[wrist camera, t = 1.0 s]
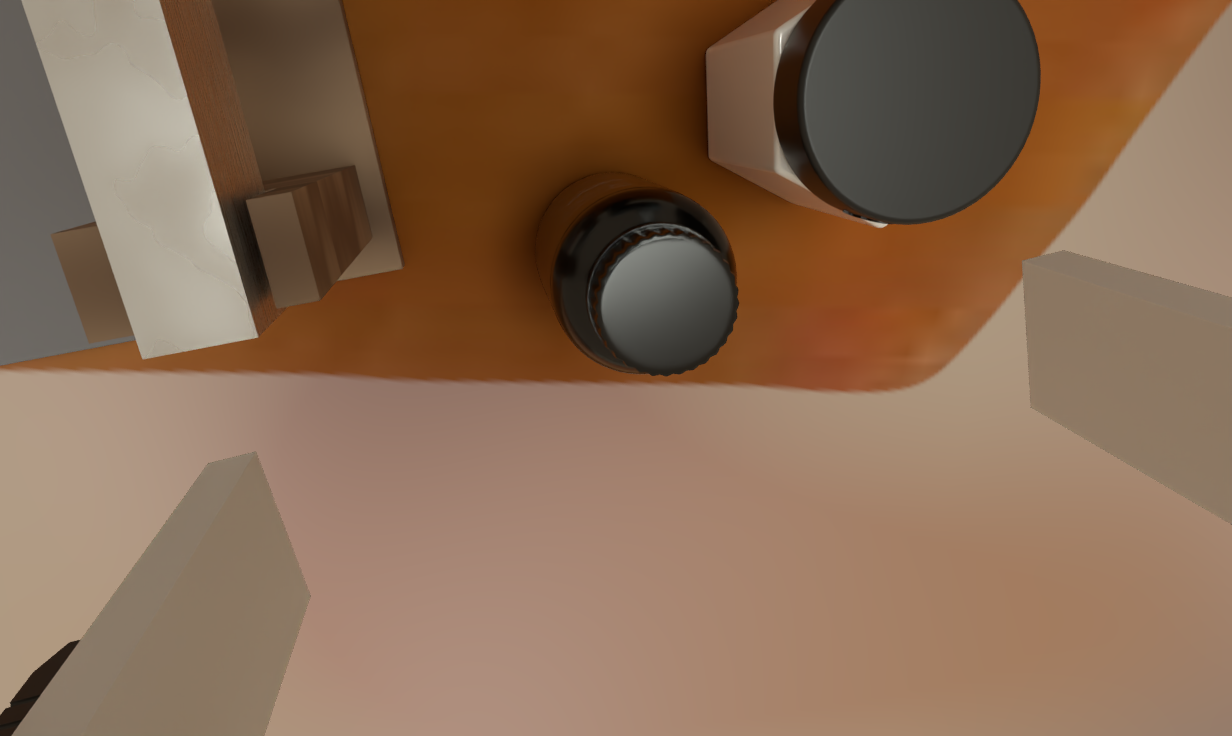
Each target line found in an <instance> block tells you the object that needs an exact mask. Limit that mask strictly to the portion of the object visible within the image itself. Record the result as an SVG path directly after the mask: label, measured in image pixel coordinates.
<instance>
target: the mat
mask: <svg viewBox="0 0 1232 736" xmlns="http://www.w3.org/2000/svg"><path fill="white" fill-rule="evenodd" d="M95 221H96V220H95V217H94V214H93V211H92V208H91V205H90V202H89V199H88V196H87V193H86V191H85V188H84V185H83V182H82V179H81V176H80V173H79V170H78V167H77V164H76V161H75V158H74V155H73V152H72V149H71V146H70V143H69V140H68V137H67V134H66V131H65V128H64V125H63V122H62V119H61V116H60V113H59V111H58V108H57V105H56V102H55V99H54V96H53V93H52V90H51V87H50V84H49V81H48V78H47V75H46V72H45V69H44V66H43V63H42V60H41V57H40V54H39V51H38V48H37V45H36V42H35V39H34V36H33V33H32V31H31V28H30V25H29V22H28V19H27V16H26V13H25V10H24V7H23V4H22V1H21V0H0V365H6V364H11V363H16V362H22V361H27V360H32V359H38V358H43V357H48V356H54V355H59V354H64V353H69V352H75V351H80V350H85V349H91V348H96V347H101V346H107V345H112V344H117V343H123V342H128V341H133V340H136V339H135V336H134V335H133V336H128V337H122V338H117V339H112V340H106V341H101V342H96V343H90V344H89V342H88V339H87V337H86V334H85V331H84V328H83V325H82V322H81V320H80V317H79V314H78V311H77V308H76V306H75V303H74V300H73V297H72V294H71V291H70V289H69V286H68V283H67V280H66V277H65V275H64V272H63V269H62V266H61V263H60V260H59V258H58V255H57V252H56V249H55V246H54V243H53V241H52V238H51V235H50V234H53V233H56V232H60V231H63V230H67V229H71V228H74V227H78V226H81V225H85V224H88V223H92V222H95Z"/></svg>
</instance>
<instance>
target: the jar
mask: <svg viewBox="0 0 1232 736" xmlns="http://www.w3.org/2000/svg"><path fill="white" fill-rule="evenodd" d="M1040 75H1041V70H1040V59H1039V52H1038V47H1037V43H1036V39H1035V35H1034V32H1033V29H1032V27H1031V24H1030V22H1029V19H1028V17H1027V15H1026V13H1025V11H1024V10H1023V8H1022V6H1021V5H1020V3H1019V2H1018V0H777V1H776V2H774V3H773V4H771V5H770V6H768V7H767V8H766V9H764V10H763V11H761V12H760V13H758V14H757V15H755V16H754V17H753V18H751V19H750V20H748V21H747V22H745V23H744V24H742V25H741V26H740V27H738V28H737V29H735V30H734V31H732V32H731V33H729V34H728V35H726V36H725V37H724V38H722V39H721V40H719V41H718V42H716V43H715V44H713V45H712V46H711V47H709V48H708V49H707V51H706V80H707V118H708V155H709V158H710V160H711V161H713V162H715V163H717V164H719V165H721V166H722V167H724V168H726V169H728V170H730V171H732V172H734V173H736V174H738V175H739V176H741V177H743V178H745V179H747V180H749V181H751V182H753V183H754V184H756V185H758V186H760V187H762V188H764V189H766V190H768V191H770V192H771V193H773V194H775V195H777V196H779V197H781V198H783V199H785V200H787V201H788V202H790V203H793V204H796V205H799V206H803V207H807V208H810V209H814V210H817V211H821V212H824V213H828V214H831V215H835V216H838V217H842V218H845V219H849V220H852V221H856V222H859V223H863V224H866V225H870V226H873V227H877V228H882V227H885V226H886V225H888V224H905V225H909V224H921V223H927V222H932V221H936V220H940V219H943V218H946V217H948V216H951V215H954V214H956V213H958V212H960V211H962V210H964V209H965V208H967V207H969V206H970V205H972V204H974V203H975V202H977V201H978V200H979V199H981V198H982V197H983V196H985V195H986V194H987V193H988V192H989V191H990V190H991V189H992V188H994V187H995V186H996V184H997V183H998V182H999V181H1000V180H1001V179H1002V178H1003V177H1004V176H1005V174H1006V173H1007V172H1008V171H1009V169H1010V168H1011V167H1012V165H1013V164H1014V162H1015V161H1016V159H1017V158H1018V156H1019V154H1020V152H1021V150H1022V149H1023V147H1024V145H1025V143H1026V140H1027V138H1028V136H1029V134H1030V131H1031V128H1032V125H1033V122H1034V119H1035V115H1036V111H1037V107H1038V101H1039V94H1040Z"/></svg>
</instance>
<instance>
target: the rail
mask: <svg viewBox="0 0 1232 736" xmlns="http://www.w3.org/2000/svg"><path fill="white" fill-rule="evenodd" d="M21 1H22V4H23V7H24V10H25V13H26V16H27V19H28V22H29V25H30V28H31V31H32V33H33V36H34V39H35V42H36V45H37V48H38V51H39V54H40V57H41V60H42V63H43V66H44V69H45V72H46V75H47V78H48V81H49V84H50V87H51V90H52V93H53V96H54V99H55V102H56V105H57V108H58V111H59V113H60V116H61V119H62V122H63V125H64V128H65V131H66V134H67V137H68V140H69V143H70V146H71V149H72V152H73V155H74V158H75V161H76V164H77V167H78V170H79V173H80V176H81V179H82V182H83V185H84V188H85V191H86V193H87V196H88V199H89V202H90V205H91V208H92V211H93V214H94V217H95V220H96V223H97V226H98V229H99V232H100V235H101V238H102V241H103V244H104V247H105V250H106V253H107V256H108V259H109V262H110V265H111V268H112V271H113V273H114V276H115V279H116V282H117V285H118V288H119V291H120V294H121V297H122V300H123V303H124V306H125V309H126V312H127V315H128V318H129V321H130V324H131V327H132V330H133V333H134V336H135V339H136V342H137V345H138V348H139V351H140V353H141V356H142V359H148V358H153V357H158V356H163V355H169V354H174V353H179V352H184V351H190V350H195V349H200V348H205V347H211V346H216V345H221V344H226V343H232V342H237V341H242V340H247V339H253V338H258V337H259V336H260V335H261V334H262V333H263V332H264V331H265V330H266V329H267V328H268V327H269V326H270V325H271V324H272V323H273V322H274V321H275V320H276V319H277V318H278V317H279V316H280V315H281V314H282V313H283V312H284V311H285V310H286V309H287V307H282V308H277V309H276V305H275V302H274V298H273V295H272V291H271V288H270V284H269V281H268V277H267V274H266V270H265V267H264V263H263V260H262V256H261V252H260V249H259V245H258V242H257V238H256V235H255V231H254V228H253V224H252V221H251V217H250V214H249V210H248V207H247V203H246V200H247V199H250V198H252V197H255V196H258V195H260V194H263V193H265V190H264V186H263V183H262V179H261V175H260V172H259V168H258V165H257V161H256V157H255V154H254V150H253V147H252V143H251V139H250V136H249V132H248V129H247V125H246V121H245V118H244V114H243V111H242V107H241V103H240V100H239V96H238V93H237V89H236V85H235V82H234V78H233V75H232V71H231V67H230V64H229V60H228V57H227V53H226V49H225V46H224V42H223V39H222V35H221V31H220V28H219V24H218V21H217V17H216V13H215V10H214V6H213V3H212V0H21Z"/></svg>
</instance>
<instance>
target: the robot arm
mask: <svg viewBox="0 0 1232 736" xmlns="http://www.w3.org/2000/svg"><path fill="white" fill-rule="evenodd" d="M1022 268H1023V285H1024V301H1025V318H1026V335H1027V352H1028V368H1029V385H1030V402H1031V408H1033V409H1035V410H1036V411H1038V412H1040V413H1041V414H1043V415H1045V416H1047V417H1048V418H1050V419H1052V420H1053V421H1055V422H1057V423H1059V424H1060V425H1062V426H1064V427H1065V428H1067V429H1069V430H1071V431H1072V432H1074V433H1076V434H1077V435H1079V436H1081V437H1083V438H1084V439H1086V440H1088V441H1089V442H1091V443H1093V444H1095V445H1096V446H1098V447H1100V448H1101V449H1103V450H1105V451H1107V452H1108V453H1110V454H1112V455H1113V456H1115V457H1117V458H1118V459H1121V460H1122V461H1124V462H1125V463H1127V464H1129V465H1130V466H1132V467H1134V468H1136V469H1137V470H1139V471H1141V472H1142V473H1144V474H1146V475H1148V476H1149V477H1151V478H1153V479H1155V480H1156V481H1158V482H1160V483H1161V484H1163V485H1165V486H1166V487H1168V488H1170V489H1172V490H1173V491H1175V492H1177V493H1179V494H1180V495H1182V496H1184V497H1185V498H1187V499H1189V500H1190V501H1192V502H1194V503H1196V504H1197V505H1199V506H1201V507H1202V508H1204V509H1206V510H1208V511H1209V512H1211V513H1213V514H1214V515H1216V516H1218V517H1220V518H1221V519H1223V520H1225V521H1227V522H1228V523H1230V524H1232V297H1228V296H1225V295H1221V294H1218V293H1214V292H1211V291H1207V290H1203V289H1200V288H1196V287H1193V286H1189V285H1186V284H1182V283H1179V282H1175V281H1171V280H1168V279H1164V278H1161V277H1157V276H1154V275H1150V274H1146V273H1143V272H1139V271H1136V270H1132V269H1129V268H1125V267H1122V266H1118V265H1115V264H1111V263H1107V262H1104V261H1100V260H1097V259H1093V258H1090V257H1086V256H1083V255H1079V254H1075V253H1072V252H1068V251H1065V250H1063V251H1059V252H1055V253H1051V254H1047V255H1043V256H1039V257H1035V258H1031V259H1027V260H1023V261H1022ZM310 597H311V595H310V592H309V590H308V587H307V584H306V582H305V579H304V576H303V574H302V571H301V568H300V566H299V563H298V561H297V558H296V555H295V553H294V550H293V548H292V545H291V542H290V540H289V537H288V534H287V532H286V529H285V526H284V524H283V521H282V519H281V516H280V513H279V511H278V508H277V505H276V503H275V500H274V497H273V495H272V493H271V489H270V487H269V484H268V482H267V479H266V476H265V474H264V471H263V468H262V466H261V463H260V461H259V458H258V455H257V453H256V452H252V453H248V454H244V455H240V456H236V457H232V458H228V459H224V460H220V461H216V462H212V463H208V464H207V466H206V467H205V468H204V470H203V471H202V473H201V474H200V475H199V477H198V478H197V480H196V481H195V482H194V484H193V485H192V486H191V488H190V489H189V491H188V492H187V493H186V495H185V496H184V498H183V499H182V500H181V502H180V503H179V505H178V506H177V507H176V509H175V510H174V511H173V513H172V514H171V516H170V517H169V519H168V520H167V521H166V523H165V524H164V525H163V527H162V528H161V529H160V531H159V532H158V534H157V535H156V537H155V538H154V539H153V540H152V542H151V543H150V545H149V546H148V547H147V549H146V550H145V552H144V553H143V554H142V556H141V557H140V559H139V560H138V561H137V563H136V564H135V565H134V567H133V568H132V570H131V571H130V572H129V574H128V575H127V576H126V578H125V579H124V581H123V582H122V583H121V585H120V586H119V587H118V589H117V590H116V592H115V593H114V594H113V596H112V597H111V599H110V600H109V602H108V603H107V604H106V606H105V607H104V608H103V610H102V611H101V612H100V614H99V615H98V617H97V618H96V619H95V621H94V622H93V623H92V625H91V626H90V628H89V629H88V630H87V632H86V633H85V635H84V636H83V637H82V639H81V640H77V641H74V642H70V643H68V644H67V645H66V646H64V648H62V649H61V650H60V651H58V652H57V653H56V654H55V655H54V656H52V657H51V658H50V659H49V660H48V661H46V662H45V663H44V664H43V665H41V666H40V667H39V668H38V669H37V670H35V671H34V672H33V673H32V675H31V676H30V677H29V678H28V680H27V681H26V682H25V684H24V685H23V686H22V688H21V689H20V690H19V692H18V693H17V694H16V695H15V697H14V698H13V699H12V701H11V702H10V704H11V707H9V708H6V709H5V710H4V711H3V712H2V714H1V715H0V736H264V735H265V732H266V729H267V725H268V723H269V720H270V717H271V714H272V711H273V708H274V705H275V702H276V699H277V696H278V693H279V690H280V687H281V684H282V681H283V678H284V675H285V672H286V669H287V666H288V663H289V660H290V657H291V654H292V651H293V648H294V645H295V642H296V639H297V636H298V633H299V630H300V626H301V624H302V621H303V618H304V615H305V612H306V609H307V606H308V603H309V600H310Z"/></svg>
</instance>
